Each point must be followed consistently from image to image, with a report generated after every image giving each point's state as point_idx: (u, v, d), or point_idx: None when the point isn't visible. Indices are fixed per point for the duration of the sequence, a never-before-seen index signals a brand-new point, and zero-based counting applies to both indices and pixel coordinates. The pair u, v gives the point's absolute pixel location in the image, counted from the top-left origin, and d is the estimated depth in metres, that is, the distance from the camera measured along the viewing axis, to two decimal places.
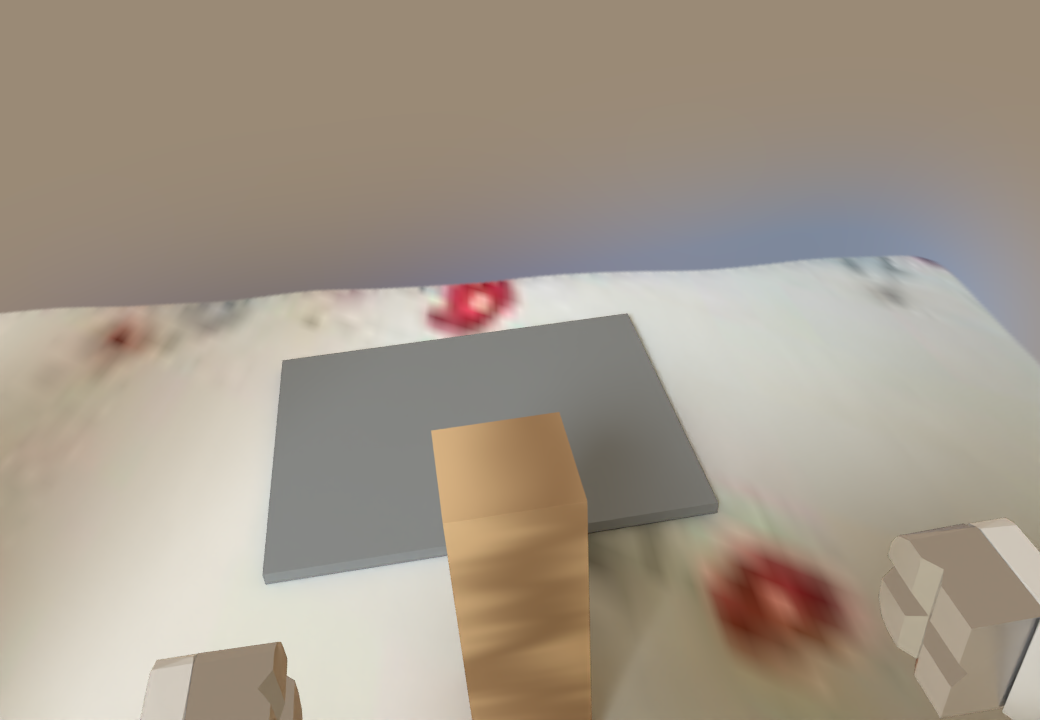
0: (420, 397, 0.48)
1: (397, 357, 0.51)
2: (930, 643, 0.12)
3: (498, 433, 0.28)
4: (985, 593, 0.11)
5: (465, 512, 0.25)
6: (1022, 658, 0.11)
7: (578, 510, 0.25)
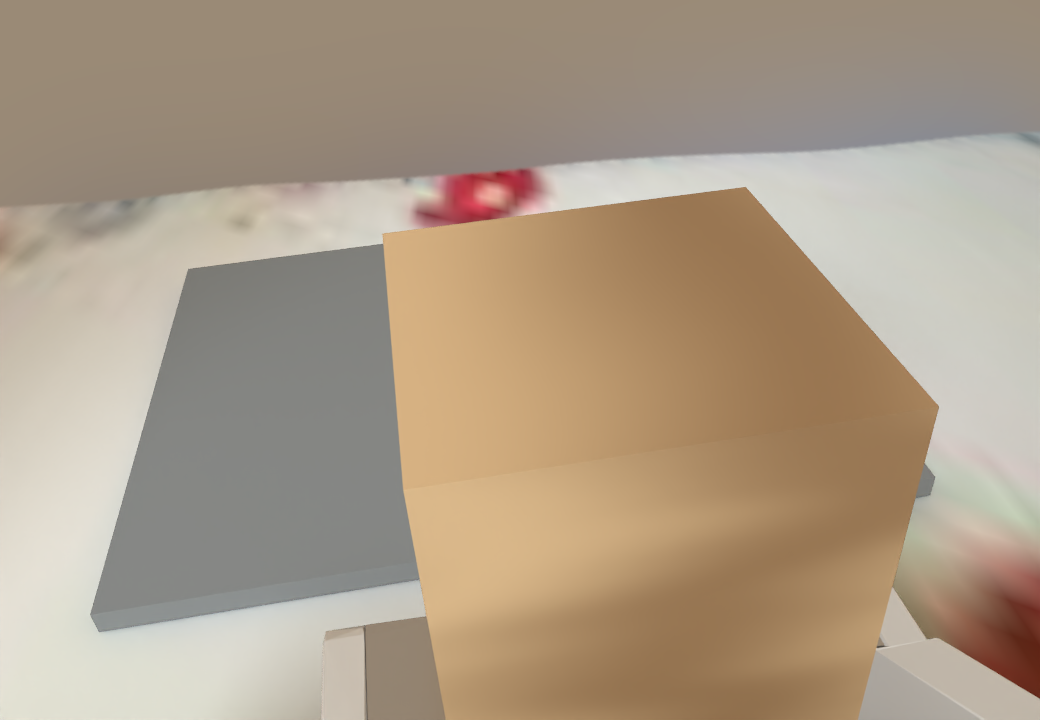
0: None
1: (365, 262, 0.33)
2: None
3: (580, 234, 0.09)
4: None
5: (492, 451, 0.07)
6: None
7: (899, 445, 0.07)
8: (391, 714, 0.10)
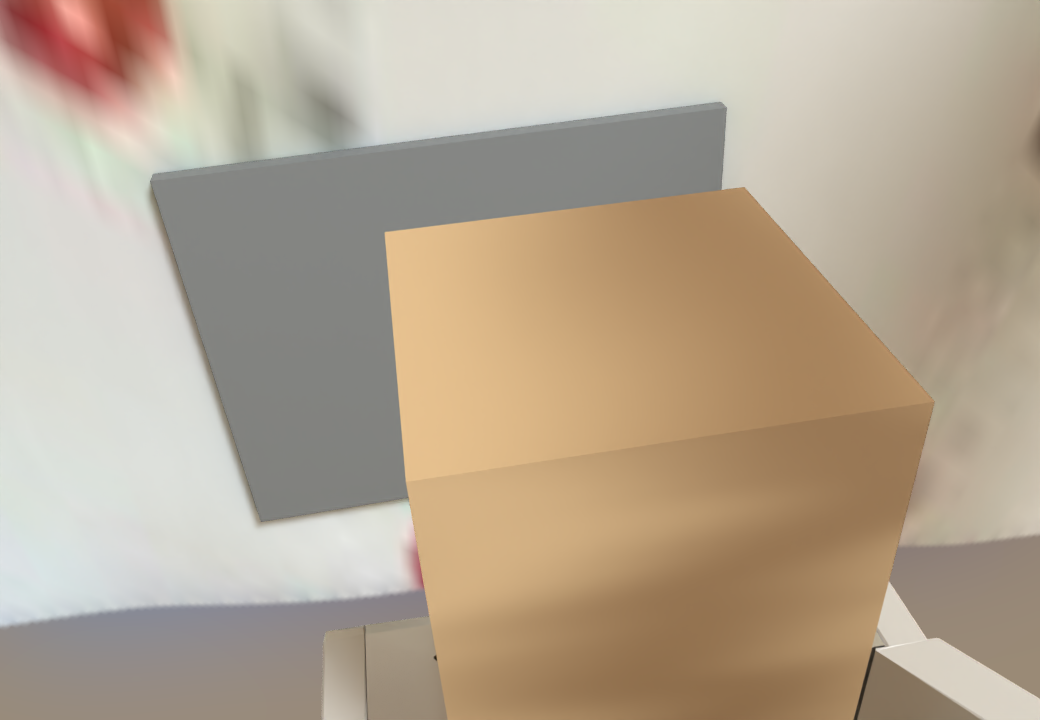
0: None
1: None
2: None
3: (580, 233, 0.09)
4: None
5: (494, 443, 0.07)
6: (864, 687, 0.11)
7: (895, 438, 0.07)
8: (391, 714, 0.10)
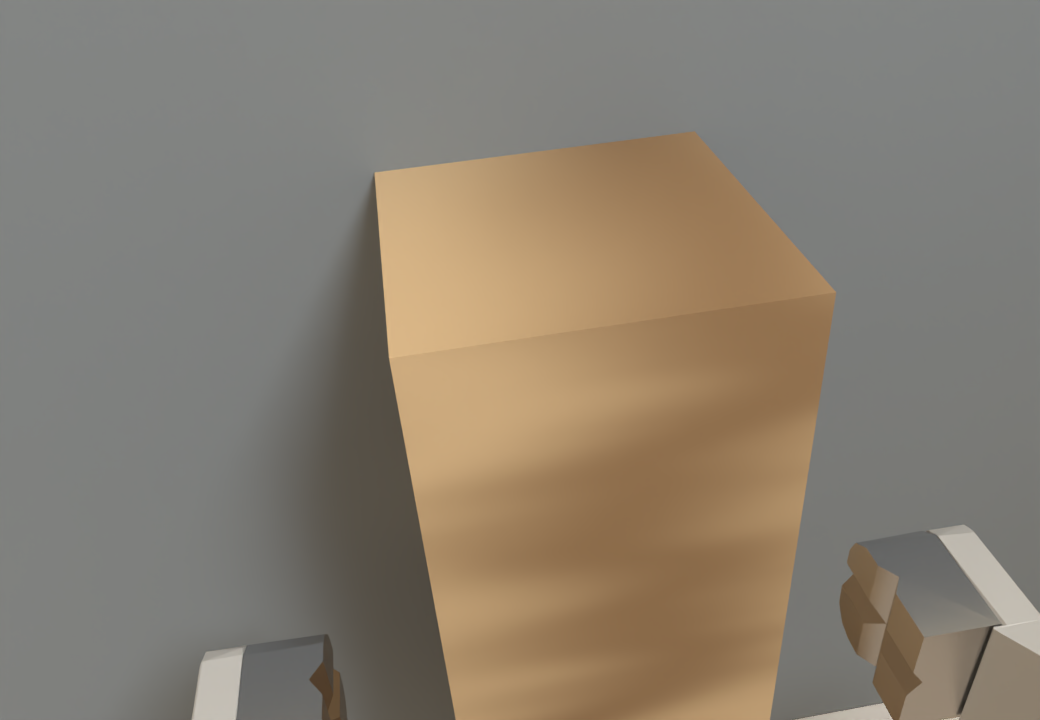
0: None
1: None
2: (887, 651, 0.12)
3: (546, 170, 0.11)
4: (939, 601, 0.11)
5: (463, 330, 0.08)
6: (977, 666, 0.11)
7: (805, 325, 0.08)
8: None
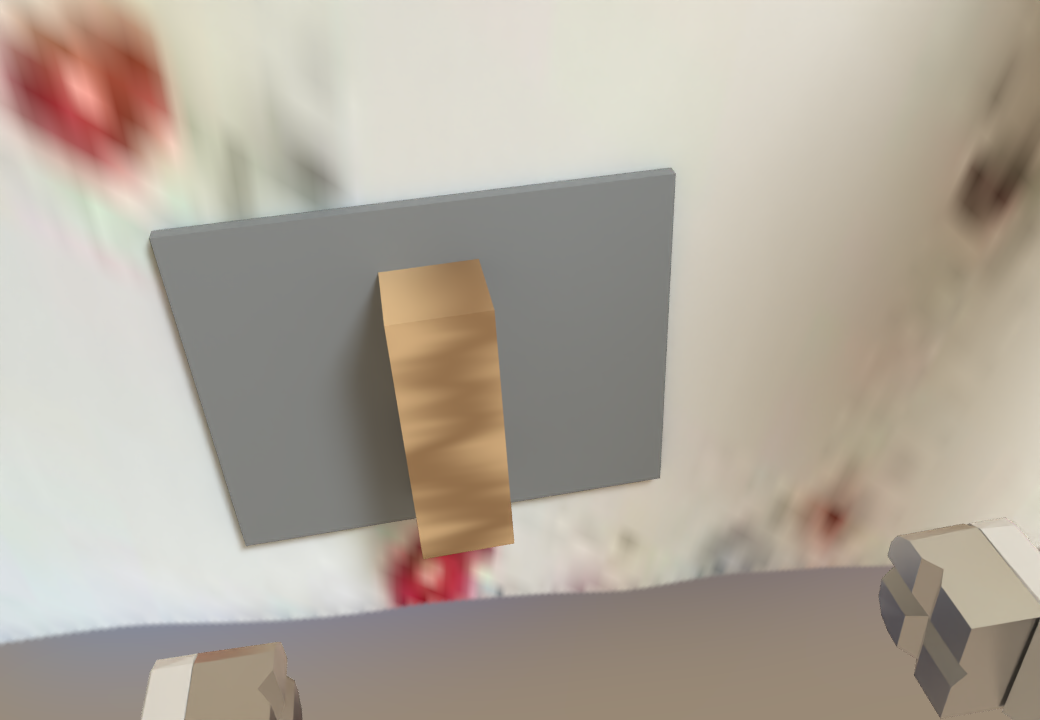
0: (504, 417, 0.41)
1: (530, 479, 0.43)
2: (930, 643, 0.12)
3: (430, 272, 0.36)
4: (985, 593, 0.11)
5: (402, 319, 0.33)
6: (1022, 658, 0.11)
7: (488, 318, 0.33)
8: None
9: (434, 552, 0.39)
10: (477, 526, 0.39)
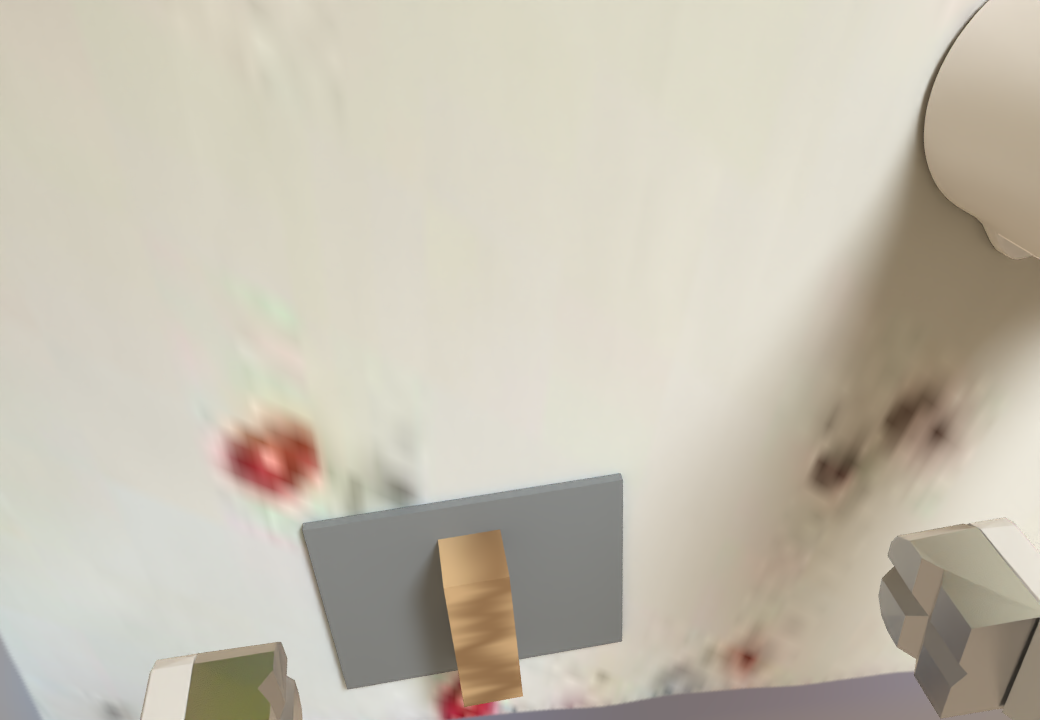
0: (516, 611, 0.63)
1: (534, 645, 0.65)
2: (930, 643, 0.12)
3: (470, 541, 0.57)
4: (985, 593, 0.11)
5: (454, 582, 0.55)
6: (1022, 658, 0.11)
7: (505, 581, 0.55)
8: None
9: (471, 702, 0.61)
10: (498, 687, 0.61)
